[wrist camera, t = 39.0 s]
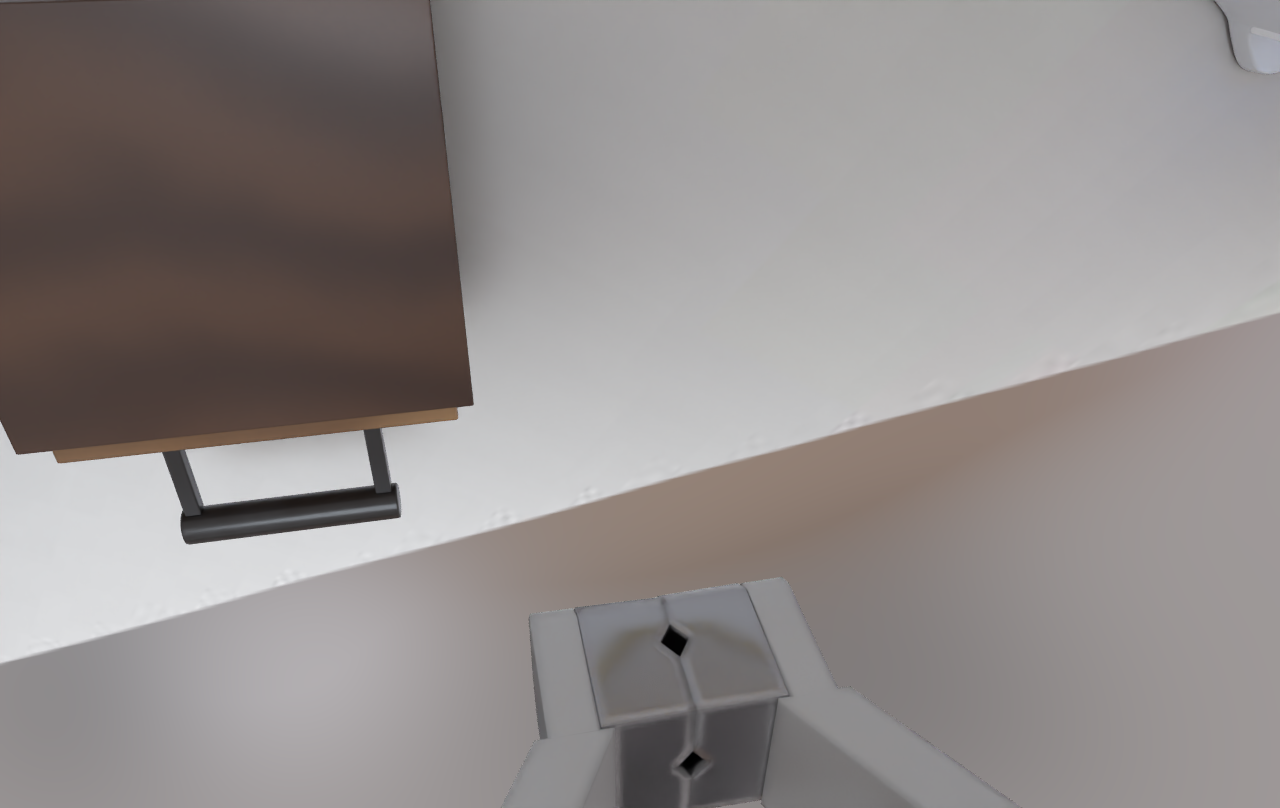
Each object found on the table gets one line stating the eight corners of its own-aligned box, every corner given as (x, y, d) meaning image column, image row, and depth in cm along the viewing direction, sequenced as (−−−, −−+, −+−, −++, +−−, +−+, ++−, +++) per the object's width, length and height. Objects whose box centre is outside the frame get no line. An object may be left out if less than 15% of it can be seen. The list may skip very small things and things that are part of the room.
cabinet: (459, 283, 40) (474, 406, 33) (88, 314, 37) (15, 455, 30) (421, -70, 32) (428, -11, 25) (-53, -61, 29) (-198, 8, 22)
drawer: (461, 419, 43) (471, 527, 37) (147, 453, 41) (106, 575, 35) (412, 8, 33) (415, 69, 27) (-13, 22, 30) (-110, 93, 24)
